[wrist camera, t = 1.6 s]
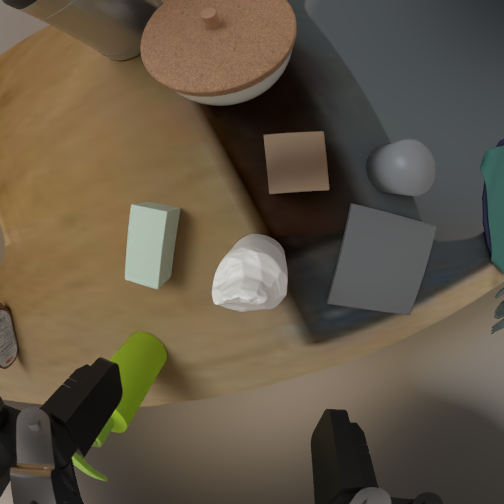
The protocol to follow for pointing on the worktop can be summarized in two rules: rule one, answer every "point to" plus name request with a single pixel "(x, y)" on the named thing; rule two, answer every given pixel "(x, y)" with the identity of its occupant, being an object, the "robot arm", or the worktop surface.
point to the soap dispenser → (129, 387)
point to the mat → (381, 261)
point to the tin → (7, 339)
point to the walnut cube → (296, 162)
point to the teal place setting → (494, 213)
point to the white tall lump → (251, 275)
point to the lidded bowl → (219, 47)
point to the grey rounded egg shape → (402, 168)
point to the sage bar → (151, 243)
